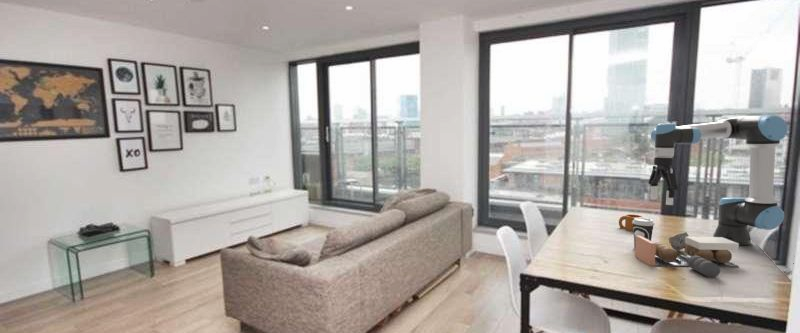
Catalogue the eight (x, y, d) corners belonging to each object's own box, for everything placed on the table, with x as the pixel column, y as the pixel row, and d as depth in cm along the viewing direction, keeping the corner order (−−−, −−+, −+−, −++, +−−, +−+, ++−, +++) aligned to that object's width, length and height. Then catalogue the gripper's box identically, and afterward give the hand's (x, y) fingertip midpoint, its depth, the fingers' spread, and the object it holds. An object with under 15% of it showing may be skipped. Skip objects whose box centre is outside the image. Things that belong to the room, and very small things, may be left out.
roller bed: (715, 256, 183) (715, 253, 183) (738, 267, 169) (738, 263, 169) (638, 255, 186) (638, 252, 186) (655, 266, 172) (655, 262, 172)
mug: (620, 227, 239) (621, 212, 238) (643, 230, 231) (644, 215, 230) (617, 230, 232) (617, 215, 231) (640, 233, 224) (641, 218, 223)
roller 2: (684, 255, 182) (684, 242, 182) (697, 255, 182) (698, 242, 181) (698, 262, 173) (699, 249, 172) (713, 262, 172) (713, 249, 172)
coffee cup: (656, 252, 191) (658, 222, 189) (635, 251, 193) (636, 221, 191) (648, 246, 200) (649, 217, 199) (628, 245, 202) (629, 217, 201)
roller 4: (701, 255, 182) (701, 242, 181) (715, 255, 181) (715, 243, 181) (716, 262, 172) (717, 249, 171) (731, 263, 171) (732, 249, 171)
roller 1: (650, 255, 184) (650, 242, 183) (663, 255, 183) (664, 242, 183) (662, 262, 174) (663, 249, 173) (676, 262, 173) (677, 249, 173)
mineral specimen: (666, 247, 198) (667, 227, 198) (686, 249, 194) (687, 229, 193) (668, 252, 190) (669, 232, 189) (688, 255, 186) (690, 234, 185)
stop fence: (639, 256, 186) (640, 235, 185) (654, 265, 173) (655, 243, 172) (634, 256, 186) (635, 235, 185) (650, 265, 173) (651, 243, 172)
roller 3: (687, 269, 168) (688, 255, 168) (702, 269, 168) (703, 255, 167) (703, 277, 158) (704, 263, 158) (719, 278, 158) (720, 263, 157)
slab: (721, 243, 181) (722, 237, 180) (738, 250, 171) (738, 243, 170) (684, 242, 182) (685, 236, 182) (699, 249, 172) (699, 242, 172)
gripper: (642, 155, 195) (639, 197, 197) (670, 158, 171) (667, 207, 173) (658, 155, 195) (655, 197, 197) (689, 158, 170) (685, 207, 172)
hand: (661, 202), depth 185 cm, fingers open, 13 cm apart
